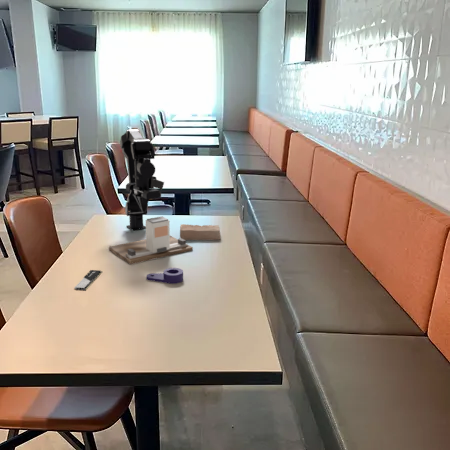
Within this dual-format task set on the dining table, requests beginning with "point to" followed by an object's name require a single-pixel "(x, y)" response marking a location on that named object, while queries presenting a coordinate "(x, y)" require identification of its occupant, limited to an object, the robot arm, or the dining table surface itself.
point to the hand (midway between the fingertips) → (143, 211)
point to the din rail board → (139, 253)
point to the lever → (167, 276)
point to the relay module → (157, 234)
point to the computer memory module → (88, 280)
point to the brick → (199, 232)
